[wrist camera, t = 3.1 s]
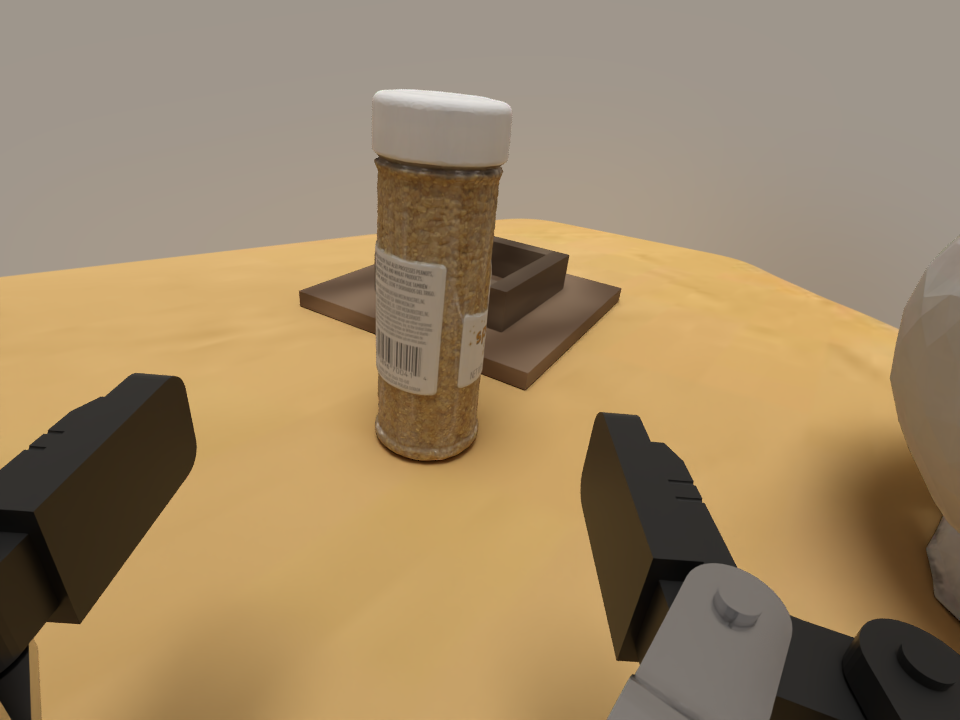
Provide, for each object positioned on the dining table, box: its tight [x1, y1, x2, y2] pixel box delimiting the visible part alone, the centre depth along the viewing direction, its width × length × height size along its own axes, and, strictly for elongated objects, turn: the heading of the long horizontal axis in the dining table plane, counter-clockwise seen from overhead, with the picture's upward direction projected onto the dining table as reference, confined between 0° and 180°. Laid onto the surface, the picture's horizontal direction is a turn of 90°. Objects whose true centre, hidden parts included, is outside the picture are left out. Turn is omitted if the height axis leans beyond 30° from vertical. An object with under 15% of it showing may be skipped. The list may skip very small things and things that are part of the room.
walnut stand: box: [299, 236, 621, 390], centre depth 36 cm, size 16×16×4 cm
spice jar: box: [372, 89, 512, 460], centre depth 20 cm, size 5×5×13 cm
